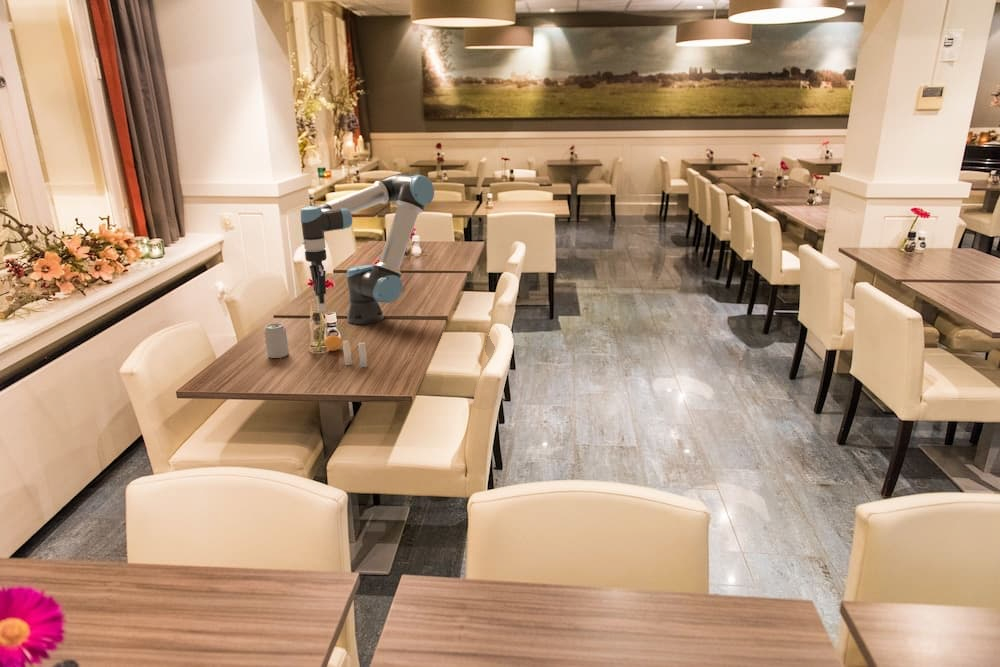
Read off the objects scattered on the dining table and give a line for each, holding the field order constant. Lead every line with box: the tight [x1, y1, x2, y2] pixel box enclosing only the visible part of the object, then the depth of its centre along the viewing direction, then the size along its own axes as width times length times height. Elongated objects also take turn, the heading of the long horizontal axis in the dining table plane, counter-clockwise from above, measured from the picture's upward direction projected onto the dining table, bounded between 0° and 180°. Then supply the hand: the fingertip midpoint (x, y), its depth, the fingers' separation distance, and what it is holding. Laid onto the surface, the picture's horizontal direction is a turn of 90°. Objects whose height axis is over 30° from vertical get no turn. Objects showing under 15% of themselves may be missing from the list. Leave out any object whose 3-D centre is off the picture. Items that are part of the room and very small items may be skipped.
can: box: [263, 322, 290, 359], centre depth 246 cm, size 8×8×12 cm
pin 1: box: [341, 340, 353, 366], centre depth 236 cm, size 2×2×8 cm
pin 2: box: [357, 341, 368, 368], centre depth 234 cm, size 2×2×8 cm
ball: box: [324, 334, 342, 352], centre depth 251 cm, size 6×6×6 cm
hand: (322, 310), depth 255 cm, fingers closed
